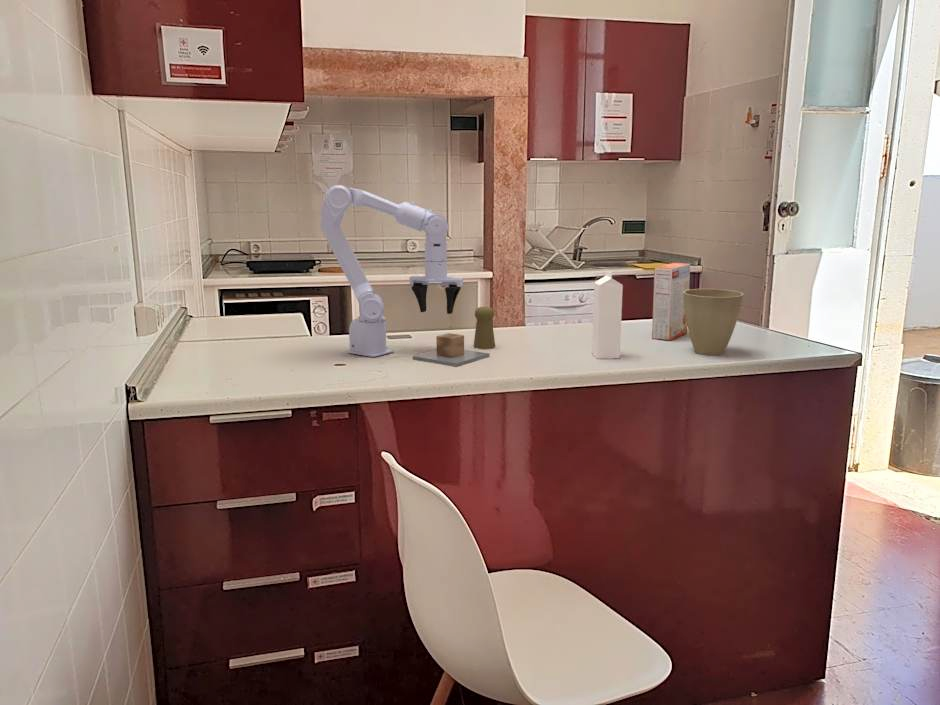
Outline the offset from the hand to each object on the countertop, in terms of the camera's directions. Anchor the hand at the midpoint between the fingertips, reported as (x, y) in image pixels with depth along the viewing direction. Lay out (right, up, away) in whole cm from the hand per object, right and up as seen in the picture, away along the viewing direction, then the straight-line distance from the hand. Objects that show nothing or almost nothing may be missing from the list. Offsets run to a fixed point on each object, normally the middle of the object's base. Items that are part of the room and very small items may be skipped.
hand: (436, 312), depth 199 cm
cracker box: (+67, -6, +22) cm, 71 cm away
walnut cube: (+4, -11, -6) cm, 13 cm away
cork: (+13, -9, +8) cm, 18 cm away
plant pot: (+72, -11, 0) cm, 73 cm away
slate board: (+4, -12, -6) cm, 14 cm away
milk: (+44, -12, -4) cm, 46 cm away
